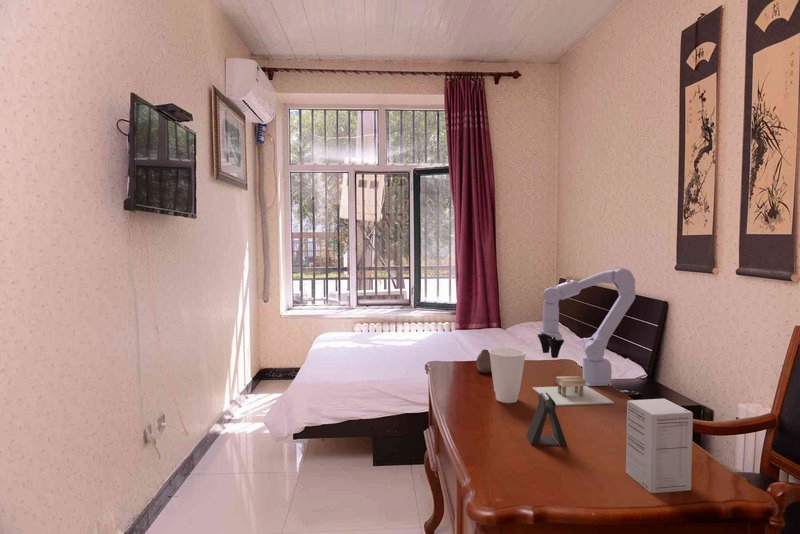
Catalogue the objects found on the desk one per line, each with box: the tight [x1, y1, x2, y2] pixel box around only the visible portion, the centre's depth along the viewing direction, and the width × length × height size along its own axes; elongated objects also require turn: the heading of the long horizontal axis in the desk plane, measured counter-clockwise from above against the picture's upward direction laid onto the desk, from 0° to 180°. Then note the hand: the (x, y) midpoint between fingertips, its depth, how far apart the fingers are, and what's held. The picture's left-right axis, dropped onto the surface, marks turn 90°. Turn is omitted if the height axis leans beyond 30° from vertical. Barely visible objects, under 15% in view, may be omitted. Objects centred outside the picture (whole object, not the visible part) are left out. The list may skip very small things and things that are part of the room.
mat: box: [531, 385, 615, 407], centre depth 161 cm, size 20×18×1 cm
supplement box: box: [625, 398, 694, 494], centre depth 103 cm, size 10×9×17 cm
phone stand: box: [526, 393, 568, 447], centre depth 124 cm, size 9×6×12 cm, turn 86°
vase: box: [475, 349, 492, 374], centre depth 191 cm, size 7×7×9 cm
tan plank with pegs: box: [555, 375, 586, 397], centre depth 160 cm, size 5×8×6 cm, turn 96°
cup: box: [488, 347, 527, 404], centre depth 156 cm, size 12×12×16 cm
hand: (550, 355), depth 179 cm, fingers open, 7 cm apart
